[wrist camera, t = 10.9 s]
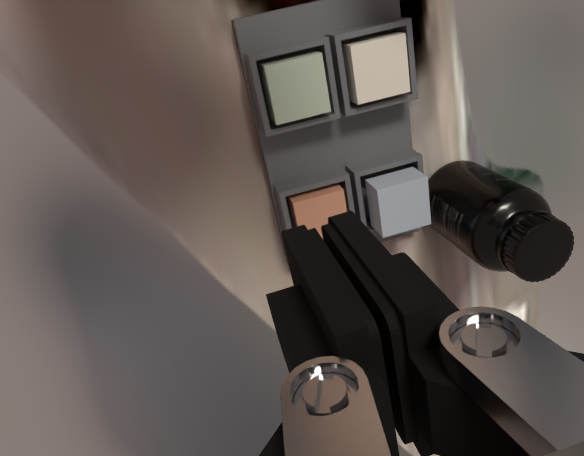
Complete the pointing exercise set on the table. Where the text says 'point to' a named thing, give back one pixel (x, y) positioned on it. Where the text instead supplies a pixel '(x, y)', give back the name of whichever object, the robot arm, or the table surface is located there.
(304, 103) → the sage key
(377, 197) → the slate key
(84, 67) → the table surface
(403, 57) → the ivory key
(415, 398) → the robot arm
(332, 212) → the terracotta key
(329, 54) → the keypad
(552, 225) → the supplement bottle
